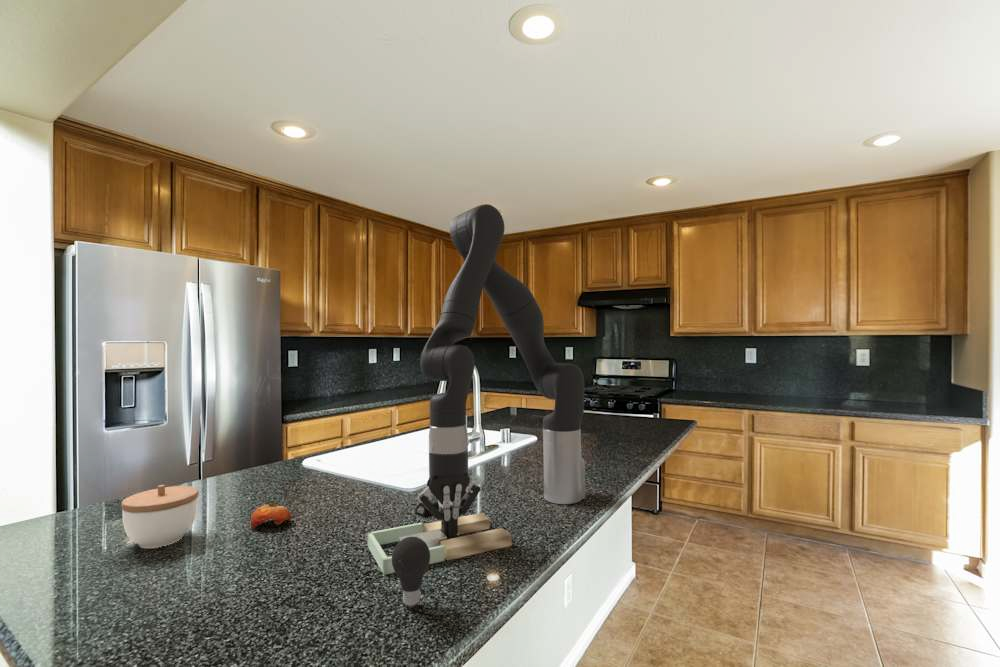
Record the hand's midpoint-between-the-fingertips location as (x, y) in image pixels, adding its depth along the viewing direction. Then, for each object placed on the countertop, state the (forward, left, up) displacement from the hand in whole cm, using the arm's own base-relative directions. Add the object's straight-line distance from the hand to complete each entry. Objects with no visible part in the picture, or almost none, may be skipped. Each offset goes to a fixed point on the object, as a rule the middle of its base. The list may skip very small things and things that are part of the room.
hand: (449, 537), depth 94 cm
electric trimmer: (-6, -20, -2) cm, 21 cm away
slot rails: (-3, 0, -1) cm, 4 cm away
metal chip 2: (+4, +1, -1) cm, 4 cm away
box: (+9, 0, -1) cm, 9 cm away
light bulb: (+13, +18, -1) cm, 22 cm away
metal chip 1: (+8, 0, -1) cm, 8 cm away
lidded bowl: (+50, -29, -1) cm, 58 cm away
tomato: (+30, -28, -2) cm, 41 cm away
